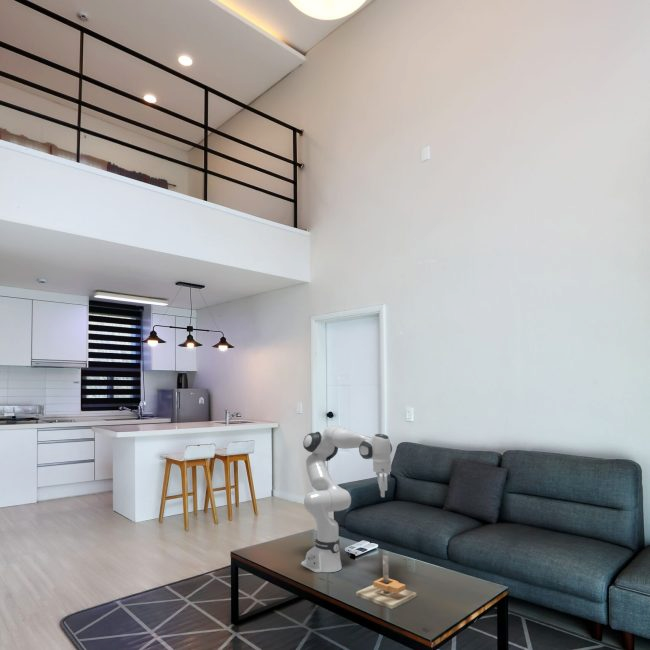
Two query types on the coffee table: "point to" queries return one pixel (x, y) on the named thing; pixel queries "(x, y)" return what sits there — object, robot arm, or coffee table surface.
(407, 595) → the pipe stand
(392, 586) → the collar
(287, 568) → the coffee table surface
